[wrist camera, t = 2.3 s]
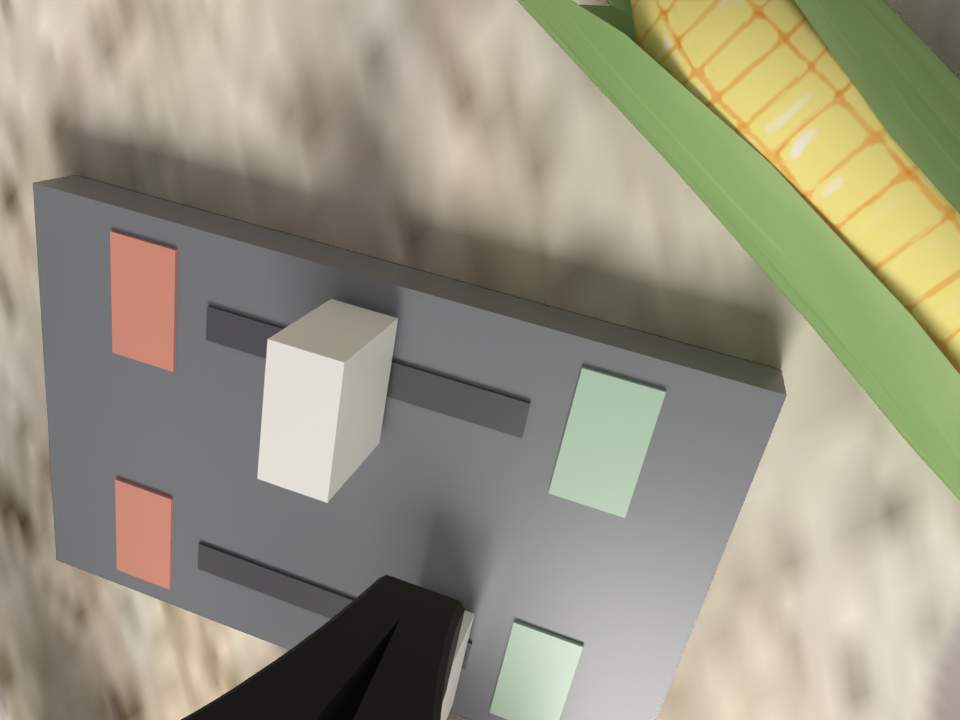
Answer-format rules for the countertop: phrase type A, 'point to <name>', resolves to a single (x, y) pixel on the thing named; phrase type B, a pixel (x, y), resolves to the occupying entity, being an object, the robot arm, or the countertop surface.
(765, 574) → the countertop surface
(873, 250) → the edible corn
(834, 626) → the countertop surface
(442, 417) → the breaker panel
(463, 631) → the block
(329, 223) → the countertop surface
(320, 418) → the block
